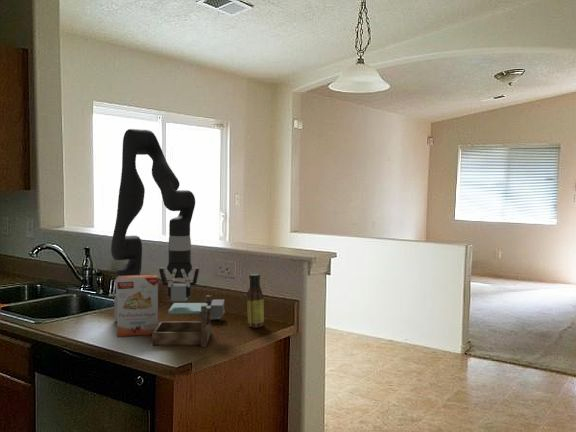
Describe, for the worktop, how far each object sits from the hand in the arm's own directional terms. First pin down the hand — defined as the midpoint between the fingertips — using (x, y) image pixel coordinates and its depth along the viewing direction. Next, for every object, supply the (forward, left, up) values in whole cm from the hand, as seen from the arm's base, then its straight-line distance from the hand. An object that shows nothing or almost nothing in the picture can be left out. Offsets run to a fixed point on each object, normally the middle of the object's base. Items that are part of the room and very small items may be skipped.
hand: (179, 297), depth 181 cm
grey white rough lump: (+10, +26, -15) cm, 32 cm away
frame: (+1, 0, -15) cm, 15 cm away
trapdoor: (+6, 0, -6) cm, 8 cm away
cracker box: (-16, +7, -15) cm, 23 cm away
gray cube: (0, 0, -1) cm, 1 cm away
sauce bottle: (+26, +17, -15) cm, 35 cm away
